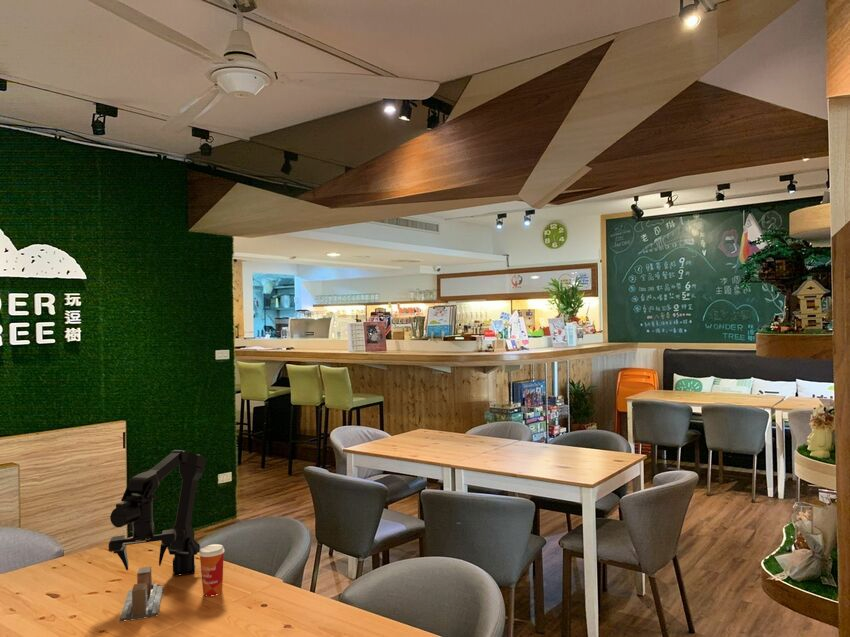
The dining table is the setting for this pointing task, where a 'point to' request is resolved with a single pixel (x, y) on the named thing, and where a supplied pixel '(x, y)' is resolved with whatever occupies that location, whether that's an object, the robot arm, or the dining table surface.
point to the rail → (151, 604)
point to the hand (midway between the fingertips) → (143, 567)
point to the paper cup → (212, 568)
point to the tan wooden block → (145, 578)
